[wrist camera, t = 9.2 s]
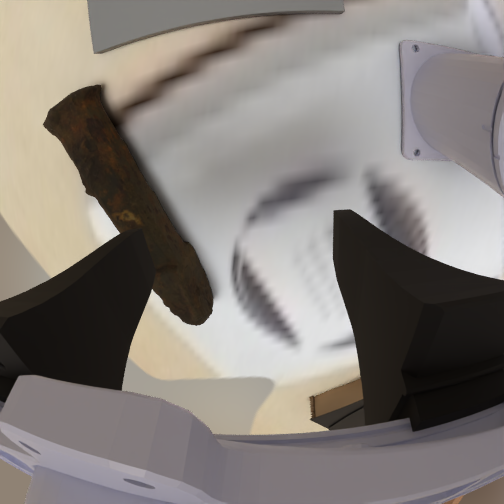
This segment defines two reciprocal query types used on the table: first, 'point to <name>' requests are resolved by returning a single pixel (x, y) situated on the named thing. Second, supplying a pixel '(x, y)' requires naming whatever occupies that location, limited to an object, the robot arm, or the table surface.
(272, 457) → the robot arm
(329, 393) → the dark brown book
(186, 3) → the fitting board
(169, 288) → the brown wooden stick
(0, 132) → the table surface
